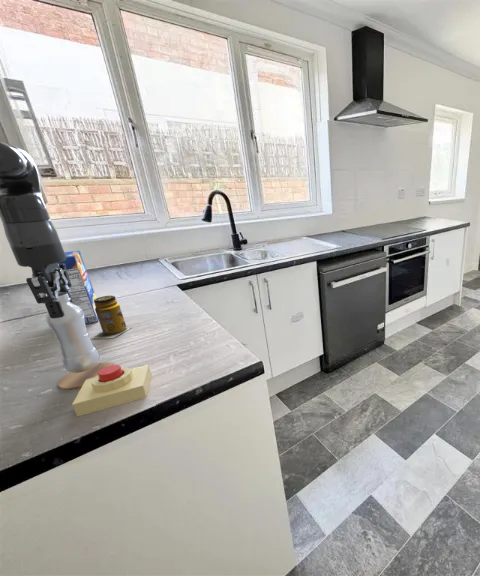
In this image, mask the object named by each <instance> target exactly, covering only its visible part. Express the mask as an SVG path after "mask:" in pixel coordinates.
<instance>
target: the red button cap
mask: <svg viewBox="0 0 480 576" xmlns="http://www.w3.org/2000/svg"><path fill="white" fill-rule="evenodd" d="M121 367H122V366H121V365H120V364H115V365H111V366H108V367H105V368H103V369H101V370H100V371H99V372H98V376H99V379H100V381H101V382H108V381H112V380H115V379H117V378H119V377H120V376H122V375H123V372H122V369H121Z"/></svg>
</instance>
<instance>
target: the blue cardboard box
mask: <svg viewBox="0 0 480 576" xmlns="http://www.w3.org/2000/svg"><path fill="white" fill-rule="evenodd" d="M64 253H65V256H66V260H65V261H62V262H59V263H58V264H65V265H66V269H67V272H68V276H69V279H70V282H71V284H72V287H70V292H69V293H70V296H71V298H72V301H73V304H75V305H76V306H78V307H80V308H81V309H82V311H83V313H84V319H85V325H90V324H94V323H95V324H96V323H98V322H99V319H98V317H97V314H96V311H95V308H96V306H95V303H94V300H95V299H96V298H97V296H96V293H95V290H94V287H93V285H92V282H91V278H90V276H89V273H88V270H87V268H86V265H85V262H84V259H83V256H82V252H81V250H73V251H72V250H71V251H64ZM61 281H62V280H61Z"/></svg>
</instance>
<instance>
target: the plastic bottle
mask: <svg viewBox="0 0 480 576" xmlns="http://www.w3.org/2000/svg"><path fill="white" fill-rule="evenodd" d="M46 297H48V296H47V295H46ZM58 298H59V301H60V304H61V306H62V309H63V312H64V316H63V317H60V318H54V319H53V318H50V315H49V313H48V311H47V312H46V314H45V322H46V324H47V325H48V328H50V330H51V332H52V333H53V336H54V337H55V339H56V340H57V343H58V345H59V348H60V353H61V356H62V359H61V360H62V365H63V367H64V369H65V370H66V371H67V372H69V373H79V372H83V371H86V370H89V369H91V368H93V367H95V366H96V365H97V364H98V363H100V354H99V352H98V349H96V347H94V344H93V342H92V341H91V337H89V333H88V328H87V326H86V325H87V324H86V325H85V319H84V313H83V311H82V309H81V308H80V307H78V306H76V305H75V304H73V303H71V302H70V300H71V299H70V298H69V296H68V293H67V292H60V293H58Z"/></svg>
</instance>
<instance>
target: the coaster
mask: <svg viewBox="0 0 480 576" xmlns="http://www.w3.org/2000/svg"><path fill="white" fill-rule="evenodd" d="M111 365H116V363H114V362H111V361H110V362H108V361H105V362H104V361H103V362H98V364H97V365H96V366H95V367H93V368H91V369H89V370H86V371H83V372H79V373H71V372H69V373H66V374H65V375H64V376H62V377H61V378H60V380H59V381H58V382H57V385H58V388H59V389H61V390H67V391H69V390H77V389H79V390H80V389H81V388H82V386H83V384H84V382H85V380H86V379H90V378H94V377H96V376H98V372H99V371H100V370H101V369H103V368H105V367H108V366H111Z"/></svg>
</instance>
